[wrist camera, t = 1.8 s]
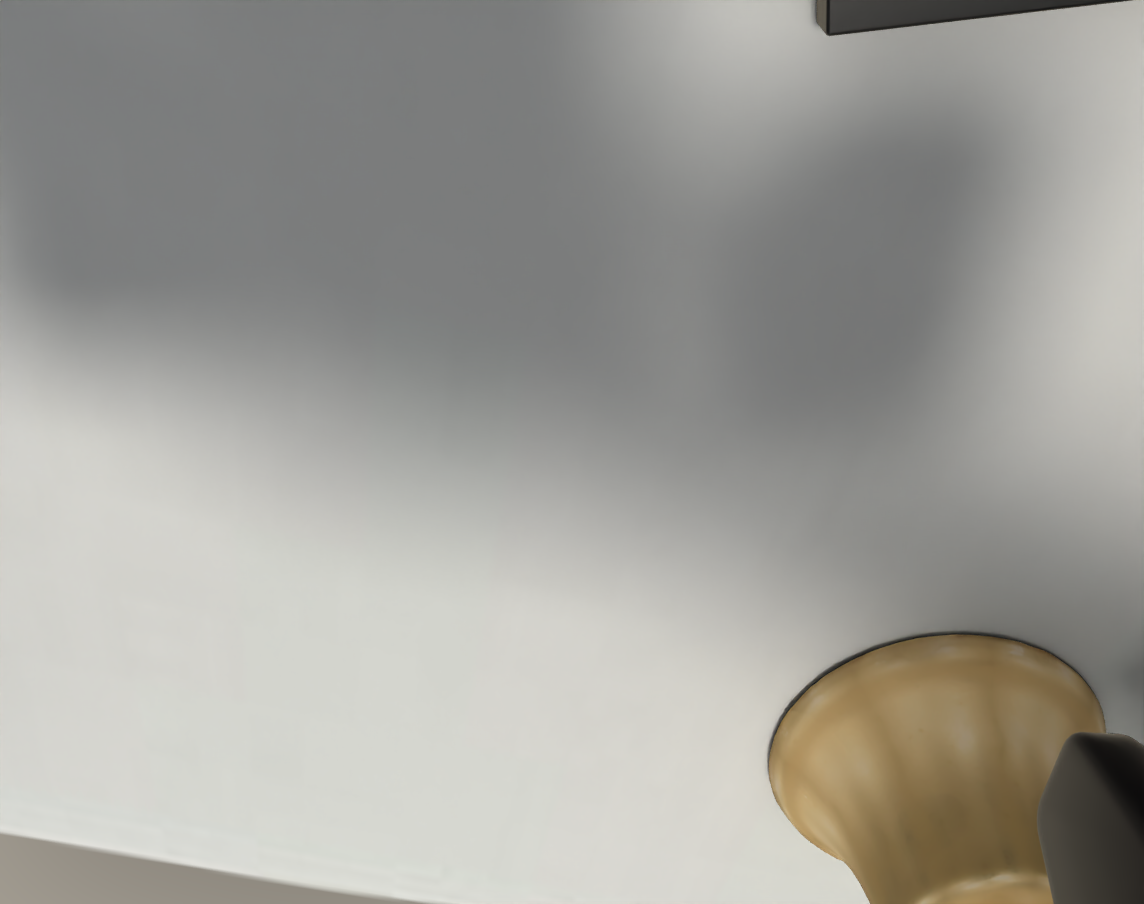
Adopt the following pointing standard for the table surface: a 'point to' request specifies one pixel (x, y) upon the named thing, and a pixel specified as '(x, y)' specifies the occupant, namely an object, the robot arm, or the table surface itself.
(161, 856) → the table surface
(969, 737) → the hand bell
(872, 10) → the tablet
